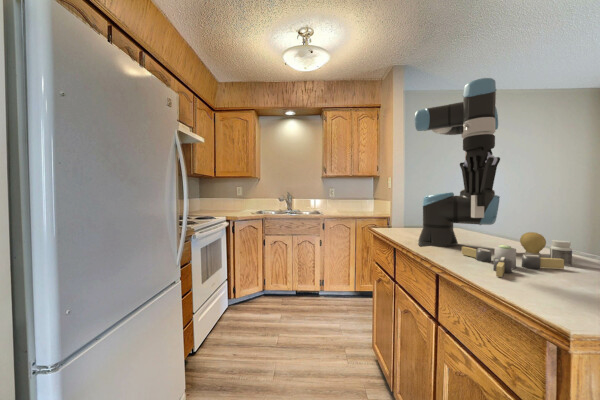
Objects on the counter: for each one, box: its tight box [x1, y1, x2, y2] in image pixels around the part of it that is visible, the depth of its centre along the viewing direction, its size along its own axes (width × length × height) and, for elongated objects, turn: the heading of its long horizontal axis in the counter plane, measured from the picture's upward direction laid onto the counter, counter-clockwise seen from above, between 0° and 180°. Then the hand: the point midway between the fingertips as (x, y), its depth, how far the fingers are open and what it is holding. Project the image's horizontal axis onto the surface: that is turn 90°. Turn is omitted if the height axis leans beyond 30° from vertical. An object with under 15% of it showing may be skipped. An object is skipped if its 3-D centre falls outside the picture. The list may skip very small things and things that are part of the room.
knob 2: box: [493, 257, 513, 278], centre depth 68 cm, size 10×4×4 cm, turn 135°
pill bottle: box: [549, 239, 573, 267], centre depth 76 cm, size 5×5×8 cm
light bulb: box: [519, 231, 547, 258], centre depth 83 cm, size 6×6×10 cm
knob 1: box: [461, 246, 493, 263], centre depth 83 cm, size 10×4×4 cm, turn 15°
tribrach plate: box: [493, 244, 517, 269], centre depth 74 cm, size 18×18×7 cm
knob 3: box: [521, 254, 565, 271], centre depth 72 cm, size 10×4×4 cm, turn 75°
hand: (477, 217), depth 72 cm, fingers closed
